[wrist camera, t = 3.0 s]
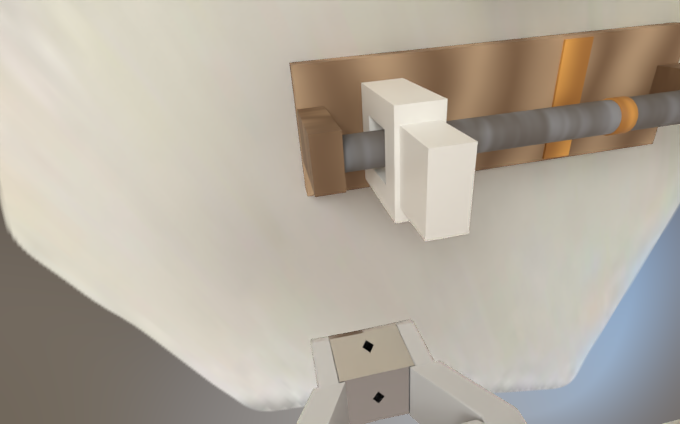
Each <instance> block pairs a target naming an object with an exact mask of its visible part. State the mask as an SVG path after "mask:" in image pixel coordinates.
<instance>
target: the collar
mask: <svg viewBox="0 0 680 424" xmlns="http://www.w3.org/2000/svg"><path fill="white" fill-rule="evenodd" d="M361 93H362V114H363V132H368V131H375V130H383V129H384V130H385V167H380V168H373V169H367V170H365V178H366V180H367V182H368V183H369V185H370V186H371V188H372V189H373V191H374V193H375V194H376V196H377V197H378V199H379V200H380V202H381V203H382V205H383V206H384V208H385V209H386V211H387V212H388V214H389V215H390V217H391V218H392V220H393V221H394V223H395V224H396V223H401V222H407V221H410V222H411V223H412V224H413V226H414V227H415V229H416V230H417V231H418V233H419V234H420V235H421V237H422V238H423V239H424V241H425V242H426V241H432V240H437V239H443V238H449V237H454V236H460V235H466V234H469V227H470V217H471V206H472V196H473V186H474V175H475V165H476V155H477V145H478V141H476V140H474V139H473V138H471V137H469V136H468V135H466V134H464V133H462V132H461V131H459V130H457V129H456V128H454V127H452V126H451V125H449V124H447V123H446V119H447V101H448V99H447V98H445V97H442V96H440V95H438V94H436V93H434V92H432V91H430V90H427V89H425V88H423V87H421V86H419V85H417V84H415V83H413V82H410V81H408V80H406V79H404V78H398V79H389V80H380V81H372V82H363V83H361Z"/></svg>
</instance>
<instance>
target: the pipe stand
mask: <svg viewBox="0 0 680 424" xmlns="http://www.w3.org/2000/svg"><path fill="white" fill-rule="evenodd" d="M679 59H680V23H664V24H655V25H645V26H636V27H626V28H617V29H607V30H598V31H588V32H578V33H569V34H559V35H550V36H540V37H531V38H521V39H512V40H502V41H493V42H483V43H474V44H464V45H454V46H445V47H435V48H426V49H416V50H407V51H397V52H388V53H378V54H369V55H359V56H350V57H340V58H331V59H321V60H311V61H302V62H292V63H290V70H291V78H292V86H293V94H294V102H295V109H296V117H297V125H298V133H299V141H300V149H301V156H302V164H303V172H304V180H305V188H306V192H307V195H308V196H313V195H315V197H318V196H325V195H331V194H338V193H344V192H346V190H352V189H359V188H365V187H371V186H370V185H369V183H368V182H367V180H366V178H365V170H367V169H373V168H380V167H385V130H384V129H383V130H375V131H368V132H363V114H362V93H361V83H363V82H372V81H380V80H389V79H398V78H404V79H406V80H408V81H410V82H413V83H415V84H417V85H419V86H421V87H423V88H425V89H427V90H430V91H432V92H434V93H436V94H438V95H440V96H442V97H445V98H447V99H448V101H447V119H446V123H447V124H449V125H451V126H452V127H454V128H456V129H457V130H459V131H461V132H462V133H464V134H466V135H468V136H469V137H471V138H473V139H474V140H476V141H478V145H477V155H476V165H475V171H477V170H483V169H490V168H496V167H503V166H509V165H516V164H522V163H529V162H536V161H542V160H549V159H555V158H562V157H568V156H575V155H581V154H588V153H594V152H601V151H608V150H614V149H621V148H627V147H634V146H640V145H647V144H653V141H654V137H655V134H656V131H657V128H658V127H660V126H667V125H674V124H680V63H678V62H679Z"/></svg>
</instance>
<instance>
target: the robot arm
mask: <svg viewBox="0 0 680 424" xmlns="http://www.w3.org/2000/svg"><path fill="white" fill-rule="evenodd" d="M311 348H312V355H313V361H314V368H315V374H316V381H317V387H318V388H315V389H313V391H312V393H311V395H310V397H309V399H308V401H307V403H306V405H305V407H304V409H303V411H302V413H301V415H300V418H299V419H298V422H297V424H365V423H369V422H373V421H376V420H380V419H385V418H390V417H394V416H399V415H404V414H409V413H410V416H411V417H412V418H414V419H415V420H416V421H417V422H418V423H419V424H527V423H526V421H525V420H524V418H523V417H522V415H521V414H520V412H519V411H518V409H517V408H515V407H514V406H512V405H511V404H509V403H507V402H506V401H504V400H502V399H501V398H499V397H498V396H496V395H494V394H493V393H491V392H490V391H488V390H486V389H485V388H483V387H481V386H480V385H478V384H477V383H475V382H473V381H472V380H470V379H469V378H467V377H465V376H464V375H462V374H460V373H459V372H457V371H456V370H454V369H452V368H451V367H449V366H447V365H446V364H444V363H443V362H441V361H434V360H433V358H432V356H431V354H430V352H429V350H428V348H427V346H426V344H425V343H424V341H423V339H422V337H421V335H420V333H419V331H418V329H417V327H416V326H415V324H414V322H413V321H412V320H411V319H409V320H405V321H400V322H395V323H391V324H386V325H381V326H377V327H372V328H368V329H363V330H359V331H354V332H348V333H343V334H337V335H332V336H328V337H323V338H317V339H311ZM664 424H680V419H679V420H675V421H671V422H668V423H664Z"/></svg>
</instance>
